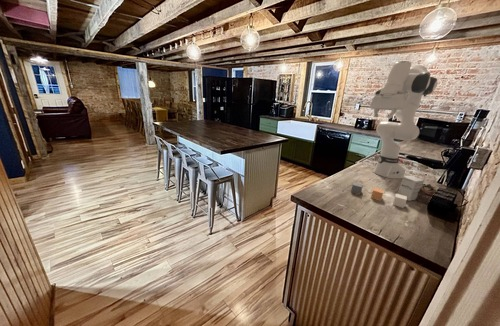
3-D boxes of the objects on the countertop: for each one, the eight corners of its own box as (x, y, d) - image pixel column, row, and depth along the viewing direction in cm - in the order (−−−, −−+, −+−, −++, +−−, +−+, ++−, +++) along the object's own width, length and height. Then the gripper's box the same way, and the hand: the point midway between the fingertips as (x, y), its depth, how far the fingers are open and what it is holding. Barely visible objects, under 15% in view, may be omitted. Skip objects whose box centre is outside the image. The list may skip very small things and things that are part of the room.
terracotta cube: (381, 197, 119) (383, 190, 117) (380, 201, 115) (383, 193, 113) (371, 194, 122) (374, 187, 120) (370, 198, 118) (373, 190, 116)
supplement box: (396, 195, 123) (402, 176, 118) (404, 193, 125) (411, 174, 121) (409, 201, 116) (416, 181, 112) (417, 199, 119) (424, 180, 114)
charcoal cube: (361, 191, 125) (363, 184, 123) (359, 194, 121) (361, 187, 119) (352, 189, 128) (354, 182, 126) (350, 192, 124) (352, 184, 122)
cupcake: (438, 203, 115) (444, 188, 111) (424, 205, 113) (430, 189, 110) (421, 195, 124) (427, 180, 120) (408, 196, 122) (414, 181, 118)
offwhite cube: (404, 204, 113) (406, 196, 111) (403, 207, 109) (406, 199, 107) (393, 201, 116) (396, 193, 114) (392, 204, 112) (395, 196, 110)
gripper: (414, 92, 101) (403, 119, 103) (381, 95, 120) (372, 118, 123) (404, 88, 99) (393, 116, 102) (372, 92, 118) (364, 115, 121)
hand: (382, 117), depth 112 cm, fingers open, 8 cm apart
